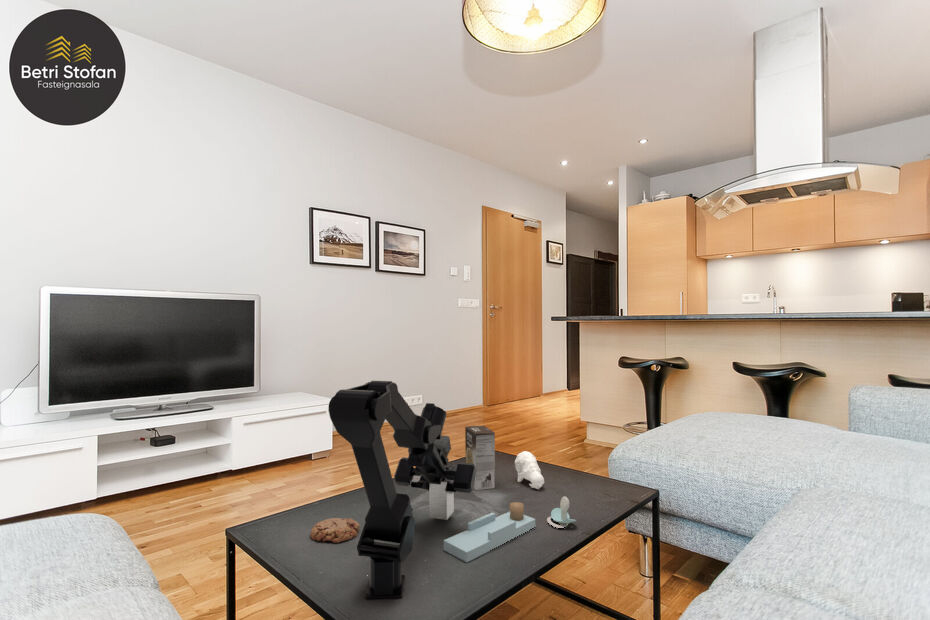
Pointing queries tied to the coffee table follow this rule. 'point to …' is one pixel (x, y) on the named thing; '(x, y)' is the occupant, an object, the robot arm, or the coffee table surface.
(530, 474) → the white animal figurine
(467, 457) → the coffee box
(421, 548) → the coffee table surface
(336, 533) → the cookie
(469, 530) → the blue stand
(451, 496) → the white rectangular block
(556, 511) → the pacifier
